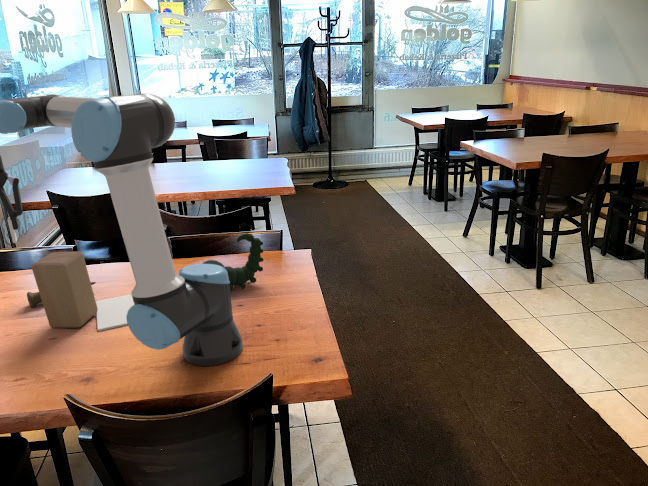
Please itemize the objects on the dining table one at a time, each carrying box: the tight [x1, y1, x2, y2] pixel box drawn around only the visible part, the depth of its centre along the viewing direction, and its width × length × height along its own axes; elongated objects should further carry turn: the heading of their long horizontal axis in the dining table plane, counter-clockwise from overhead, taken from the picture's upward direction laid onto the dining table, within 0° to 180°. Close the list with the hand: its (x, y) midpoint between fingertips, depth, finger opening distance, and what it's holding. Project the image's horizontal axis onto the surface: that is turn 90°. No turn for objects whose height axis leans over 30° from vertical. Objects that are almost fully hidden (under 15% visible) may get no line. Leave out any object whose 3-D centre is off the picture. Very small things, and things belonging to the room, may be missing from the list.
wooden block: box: [31, 251, 98, 328], centre depth 147 cm, size 10×10×20 cm
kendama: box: [26, 281, 97, 309], centre depth 165 cm, size 6×10×20 cm
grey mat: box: [95, 294, 134, 332], centre depth 156 cm, size 20×17×1 cm
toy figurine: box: [201, 232, 264, 292], centre depth 165 cm, size 9×19×25 cm
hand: (5, 242), depth 137 cm, fingers open, 4 cm apart
